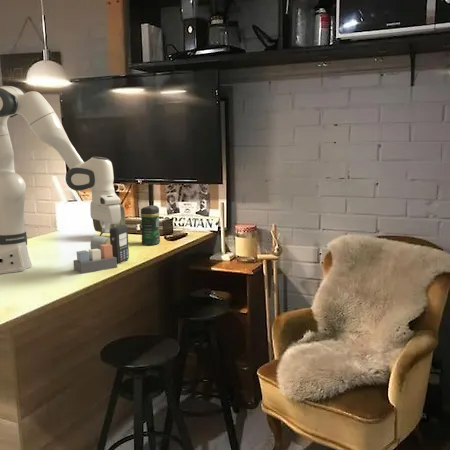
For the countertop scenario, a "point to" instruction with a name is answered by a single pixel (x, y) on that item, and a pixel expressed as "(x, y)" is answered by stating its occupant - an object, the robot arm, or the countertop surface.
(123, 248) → the card reader
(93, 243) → the ceramic mug
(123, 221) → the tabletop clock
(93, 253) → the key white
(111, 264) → the grey rectangular tray
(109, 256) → the key rust
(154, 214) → the coffee jar
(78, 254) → the key blue
